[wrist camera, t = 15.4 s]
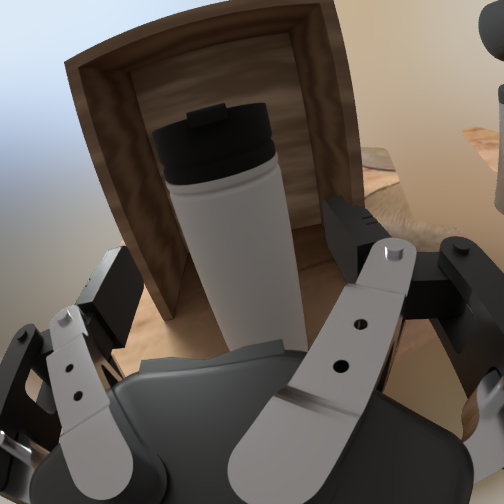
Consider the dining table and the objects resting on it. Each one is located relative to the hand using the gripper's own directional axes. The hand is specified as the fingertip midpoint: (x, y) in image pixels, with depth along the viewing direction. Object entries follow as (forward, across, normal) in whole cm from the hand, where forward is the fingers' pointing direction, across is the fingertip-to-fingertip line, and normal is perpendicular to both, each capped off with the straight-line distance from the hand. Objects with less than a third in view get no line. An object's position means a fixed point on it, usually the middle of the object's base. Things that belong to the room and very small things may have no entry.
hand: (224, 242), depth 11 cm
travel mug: (+6, 0, +15) cm, 16 cm away
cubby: (+20, 0, +15) cm, 25 cm away
